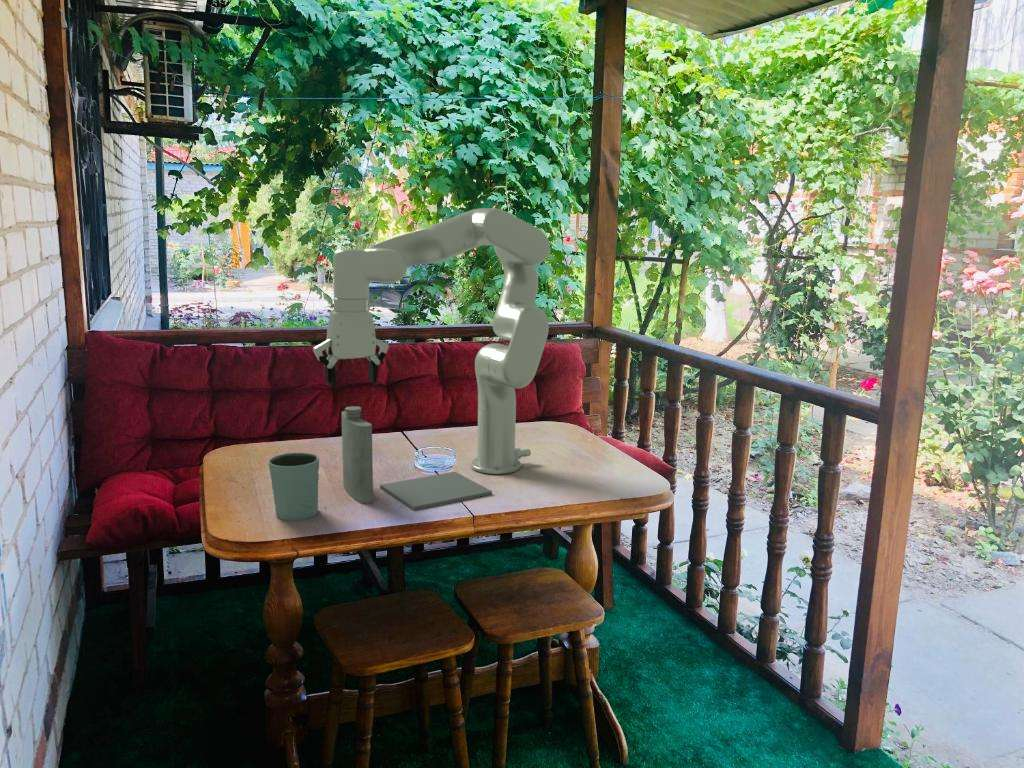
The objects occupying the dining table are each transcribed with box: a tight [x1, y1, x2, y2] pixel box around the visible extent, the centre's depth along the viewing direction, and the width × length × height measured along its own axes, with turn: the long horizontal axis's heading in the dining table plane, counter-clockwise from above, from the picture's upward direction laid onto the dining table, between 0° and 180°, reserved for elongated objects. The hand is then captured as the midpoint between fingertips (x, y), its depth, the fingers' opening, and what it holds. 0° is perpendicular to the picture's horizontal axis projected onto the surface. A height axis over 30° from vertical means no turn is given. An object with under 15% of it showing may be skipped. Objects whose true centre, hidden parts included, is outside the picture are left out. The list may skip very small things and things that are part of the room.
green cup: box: [268, 452, 320, 522], centre depth 165 cm, size 10×10×12 cm
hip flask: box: [341, 405, 374, 505], centre depth 178 cm, size 16×4×20 cm, turn 27°
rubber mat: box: [379, 471, 493, 511], centre depth 181 cm, size 20×17×1 cm
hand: (352, 383), depth 175 cm, fingers open, 9 cm apart
